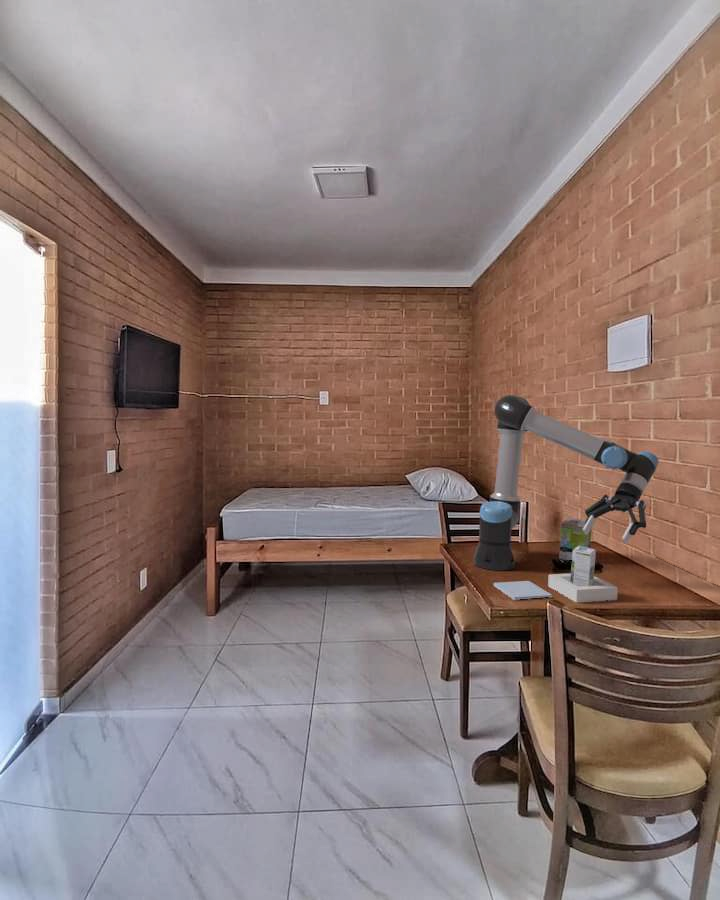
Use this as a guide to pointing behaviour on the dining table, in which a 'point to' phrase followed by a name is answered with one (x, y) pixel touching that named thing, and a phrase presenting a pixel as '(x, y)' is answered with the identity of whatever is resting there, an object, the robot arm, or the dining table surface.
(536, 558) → the dining table surface
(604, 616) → the dining table surface
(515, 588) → the board
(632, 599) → the dining table surface
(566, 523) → the tea box
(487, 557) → the robot arm
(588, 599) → the white tray
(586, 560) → the syrup box
